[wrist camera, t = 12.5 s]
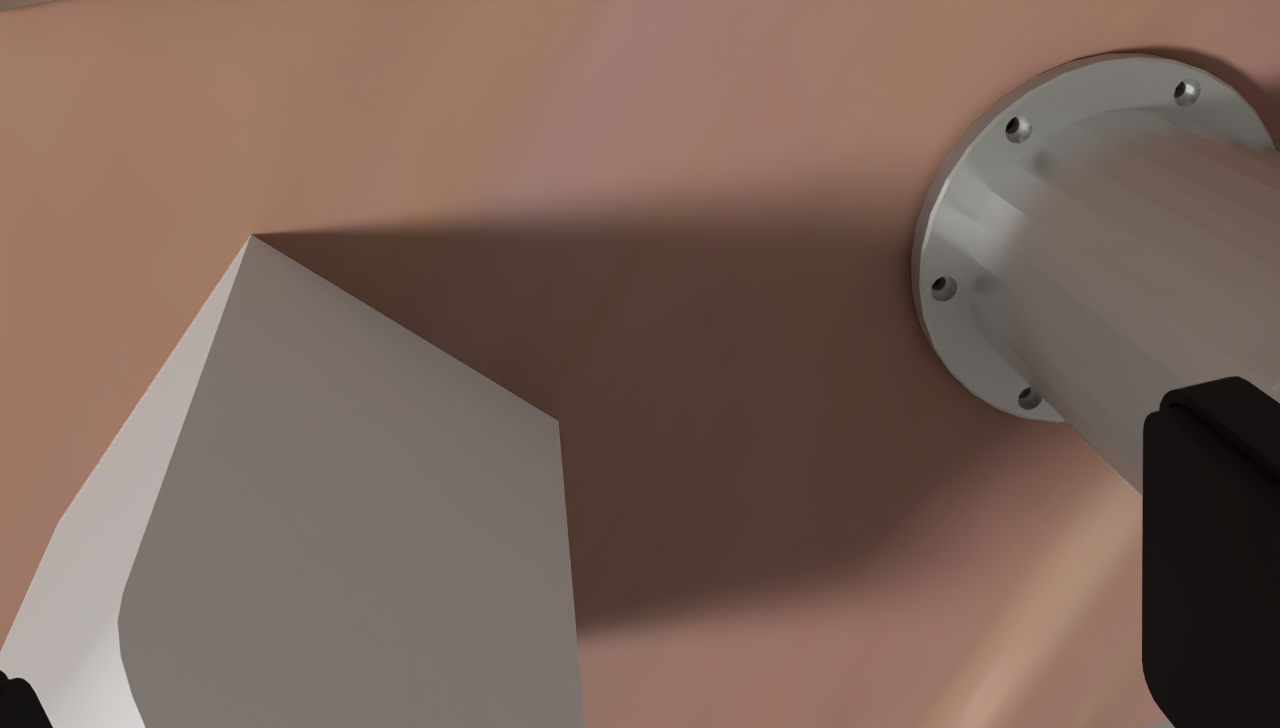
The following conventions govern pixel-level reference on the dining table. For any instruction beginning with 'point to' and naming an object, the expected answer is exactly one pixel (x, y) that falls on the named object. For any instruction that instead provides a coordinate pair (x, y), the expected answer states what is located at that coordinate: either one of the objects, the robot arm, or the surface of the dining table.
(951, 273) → the robot arm
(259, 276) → the milk
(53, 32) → the dining table surface
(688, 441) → the dining table surface
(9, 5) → the post base
